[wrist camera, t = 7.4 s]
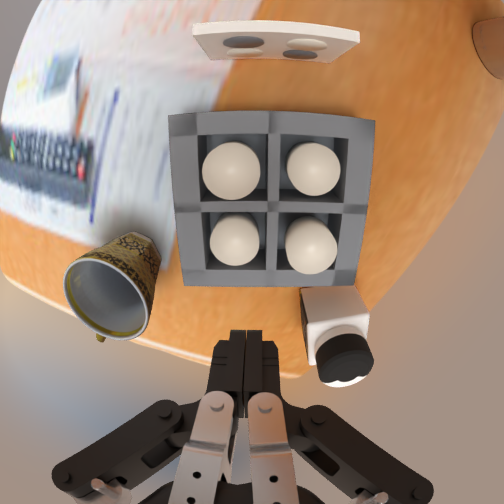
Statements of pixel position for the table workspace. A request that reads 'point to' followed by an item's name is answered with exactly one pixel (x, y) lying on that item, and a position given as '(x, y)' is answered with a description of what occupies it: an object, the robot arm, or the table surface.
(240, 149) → the button
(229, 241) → the button
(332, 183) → the button
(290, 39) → the card
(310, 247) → the button
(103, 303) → the ceramic cup
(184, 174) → the board
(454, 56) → the table surface
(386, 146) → the table surface
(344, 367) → the medicine bottle
